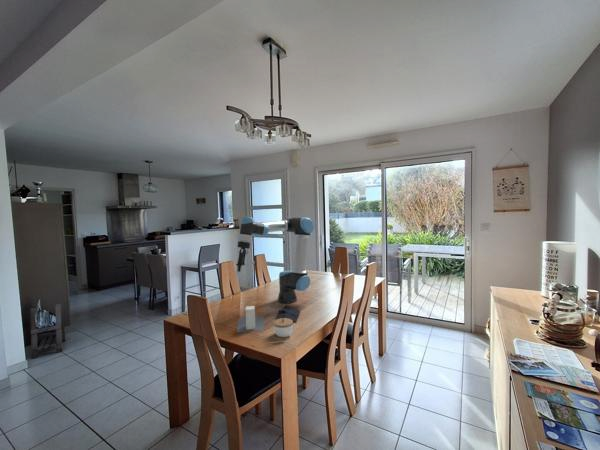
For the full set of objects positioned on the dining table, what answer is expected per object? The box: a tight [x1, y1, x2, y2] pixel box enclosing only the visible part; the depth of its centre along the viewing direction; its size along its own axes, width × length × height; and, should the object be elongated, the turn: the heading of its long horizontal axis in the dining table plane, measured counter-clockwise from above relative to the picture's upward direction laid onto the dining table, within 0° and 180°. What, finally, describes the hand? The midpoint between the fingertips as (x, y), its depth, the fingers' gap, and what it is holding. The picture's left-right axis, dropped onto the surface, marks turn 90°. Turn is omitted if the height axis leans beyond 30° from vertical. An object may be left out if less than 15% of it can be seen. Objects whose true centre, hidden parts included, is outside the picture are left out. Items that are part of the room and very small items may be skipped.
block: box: [245, 305, 256, 330], centre depth 158 cm, size 5×6×12 cm
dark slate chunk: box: [275, 304, 301, 324], centre depth 176 cm, size 15×22×5 cm
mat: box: [235, 315, 266, 334], centre depth 164 cm, size 16×22×1 cm
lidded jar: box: [273, 318, 294, 338], centre depth 148 cm, size 11×11×9 cm
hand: (239, 276), depth 164 cm, fingers open, 13 cm apart
